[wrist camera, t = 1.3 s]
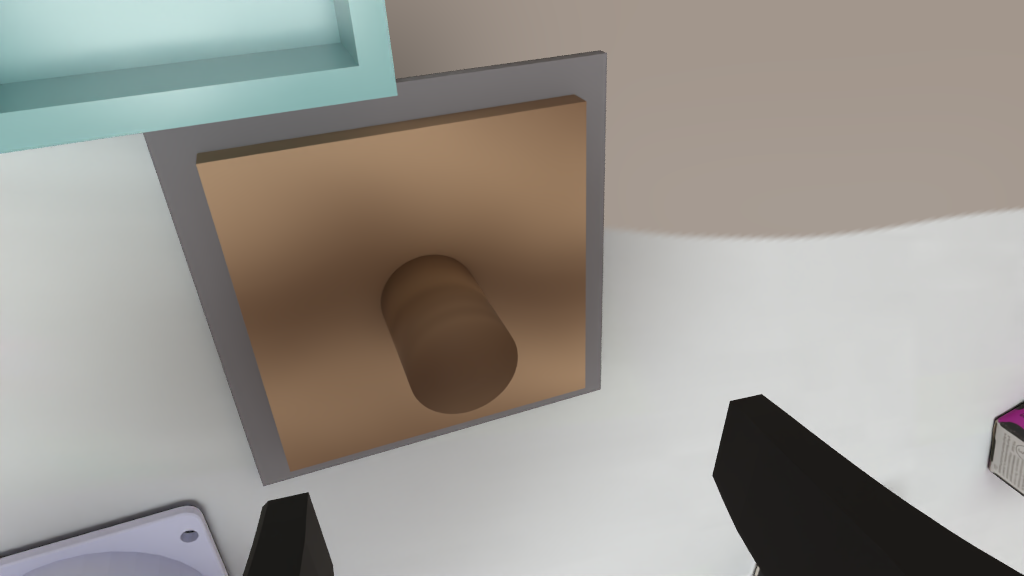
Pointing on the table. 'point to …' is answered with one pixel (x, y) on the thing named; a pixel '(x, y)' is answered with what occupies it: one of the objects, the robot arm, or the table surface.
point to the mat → (414, 101)
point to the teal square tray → (180, 63)
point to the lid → (408, 270)
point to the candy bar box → (1009, 449)
